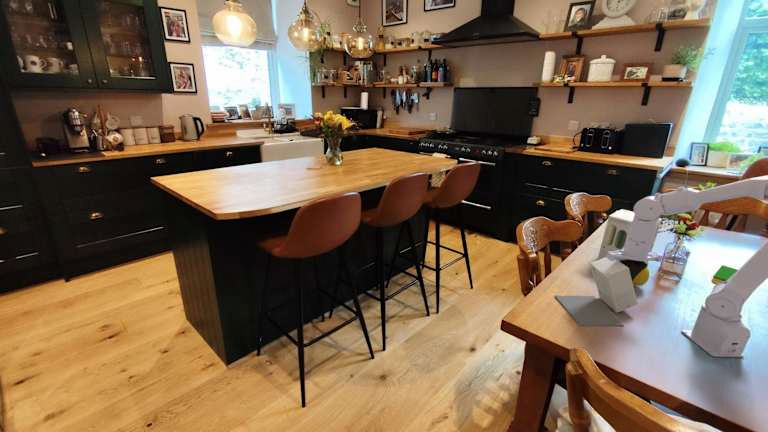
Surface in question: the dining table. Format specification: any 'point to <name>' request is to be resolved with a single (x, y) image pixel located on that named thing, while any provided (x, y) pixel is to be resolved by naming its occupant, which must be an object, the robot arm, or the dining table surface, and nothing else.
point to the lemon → (641, 277)
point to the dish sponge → (723, 274)
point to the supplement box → (619, 232)
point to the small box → (614, 284)
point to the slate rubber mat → (588, 311)
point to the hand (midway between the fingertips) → (626, 282)
